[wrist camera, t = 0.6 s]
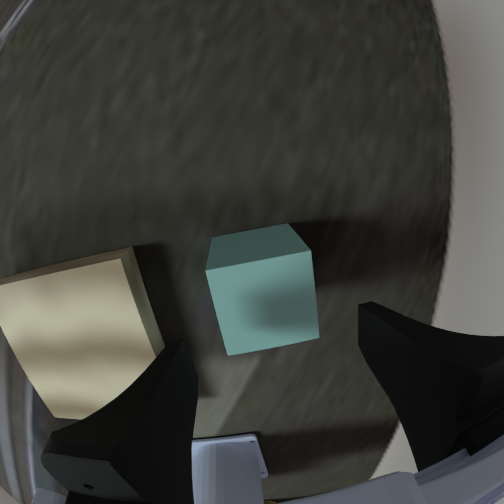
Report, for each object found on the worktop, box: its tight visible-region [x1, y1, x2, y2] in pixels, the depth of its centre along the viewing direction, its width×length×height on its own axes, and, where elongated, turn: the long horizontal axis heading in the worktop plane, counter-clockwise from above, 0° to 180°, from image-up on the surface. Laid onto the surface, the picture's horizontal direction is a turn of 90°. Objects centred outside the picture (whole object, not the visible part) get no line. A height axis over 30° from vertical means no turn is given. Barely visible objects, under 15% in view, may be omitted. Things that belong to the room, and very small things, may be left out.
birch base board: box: [0, 247, 165, 419], centre depth 20 cm, size 14×14×2 cm
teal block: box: [205, 223, 319, 355], centre depth 18 cm, size 5×5×6 cm
